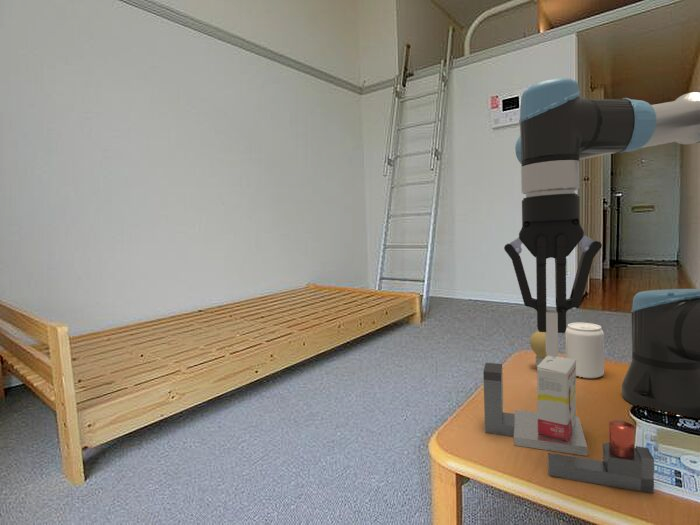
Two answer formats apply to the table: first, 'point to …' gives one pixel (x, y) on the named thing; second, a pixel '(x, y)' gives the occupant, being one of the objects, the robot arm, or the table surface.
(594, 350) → the beverage can
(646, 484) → the rail
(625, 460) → the red cylinder
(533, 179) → the robot arm
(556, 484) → the table surface
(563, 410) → the ink box
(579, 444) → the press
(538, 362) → the light bulb
